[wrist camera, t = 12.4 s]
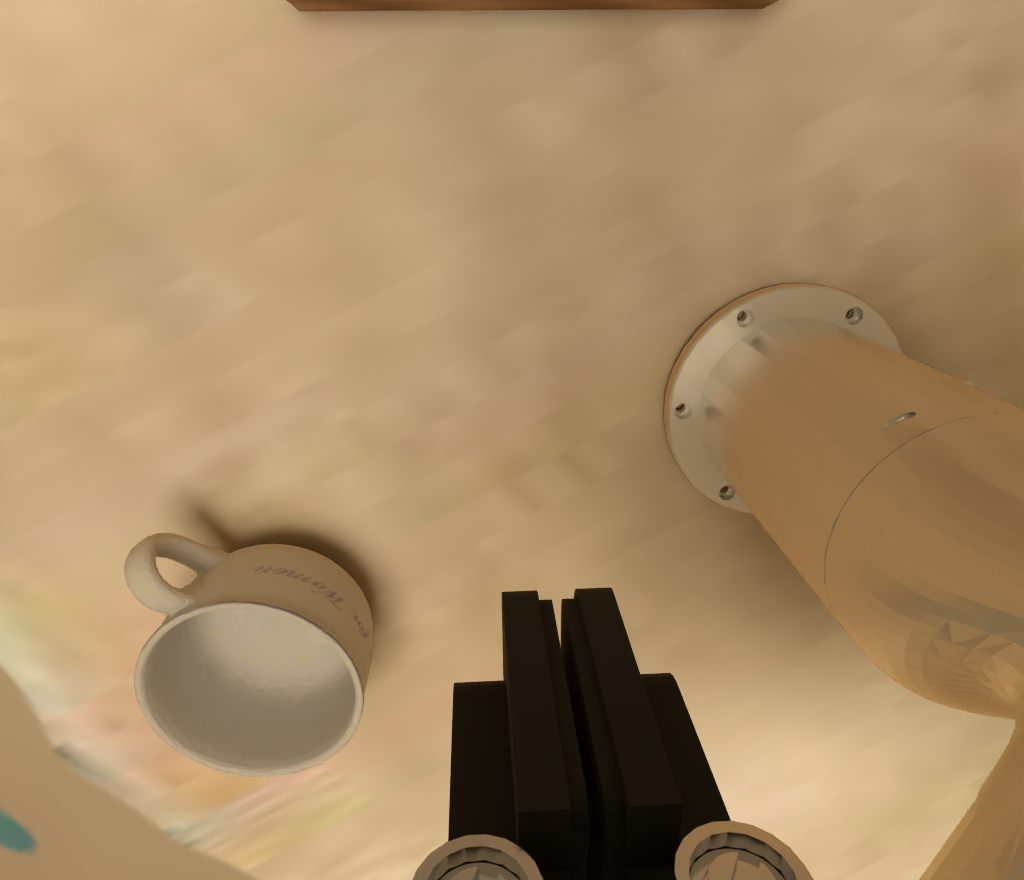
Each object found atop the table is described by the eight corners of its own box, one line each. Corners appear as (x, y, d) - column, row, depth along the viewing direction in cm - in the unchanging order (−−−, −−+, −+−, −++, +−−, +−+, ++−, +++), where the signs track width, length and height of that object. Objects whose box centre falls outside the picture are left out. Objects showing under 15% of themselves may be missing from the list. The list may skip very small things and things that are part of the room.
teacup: (413, 640, 43) (401, 741, 36) (251, 703, 44) (207, 813, 37) (298, 441, 38) (257, 510, 31) (119, 517, 39) (37, 601, 32)
